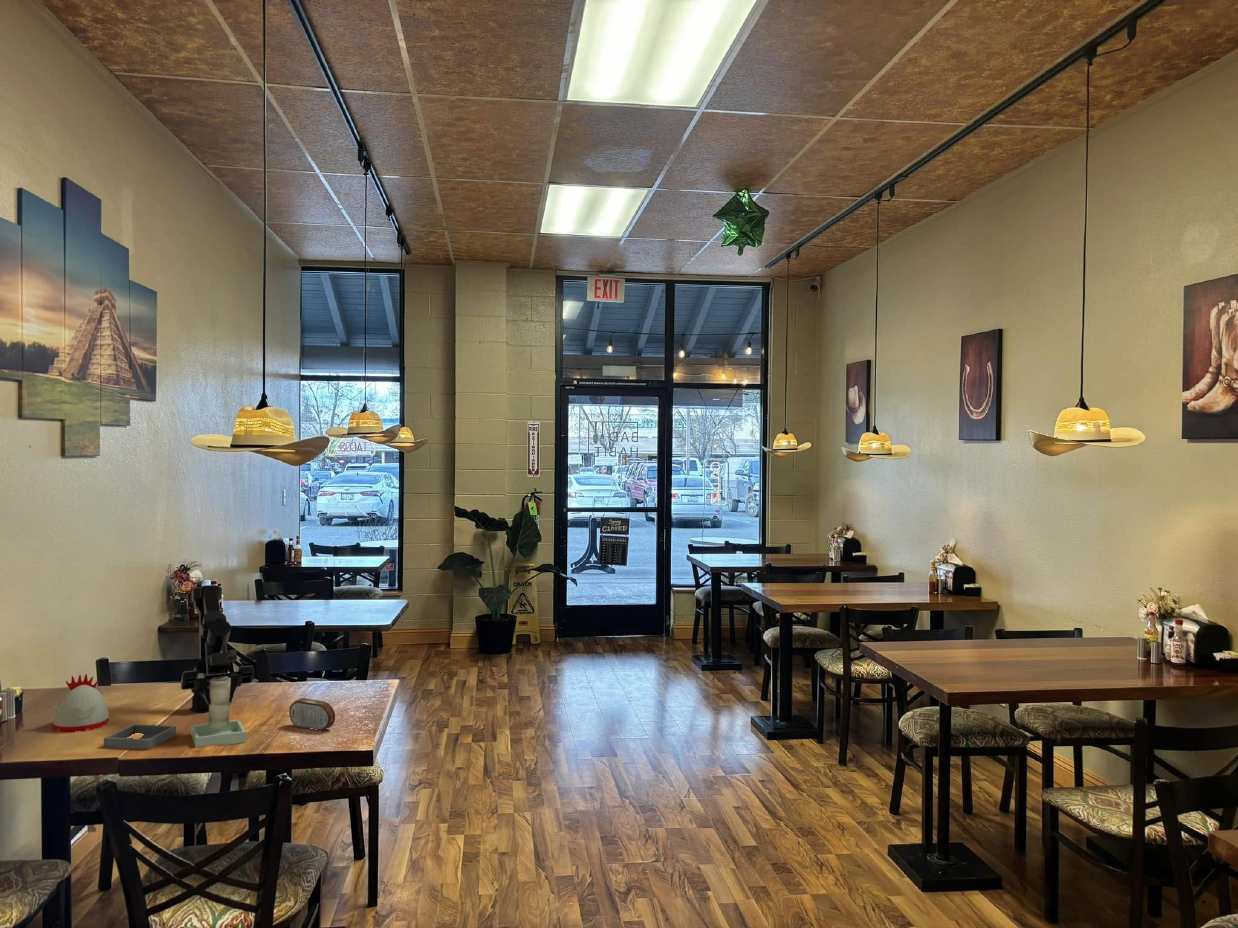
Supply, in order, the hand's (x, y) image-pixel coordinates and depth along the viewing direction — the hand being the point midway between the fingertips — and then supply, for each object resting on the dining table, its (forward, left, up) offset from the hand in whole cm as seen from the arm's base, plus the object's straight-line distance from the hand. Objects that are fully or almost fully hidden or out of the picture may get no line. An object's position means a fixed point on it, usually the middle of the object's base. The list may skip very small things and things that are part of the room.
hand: (220, 703), depth 235 cm
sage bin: (-1, -1, -10) cm, 11 cm away
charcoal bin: (+13, -15, -10) cm, 23 cm away
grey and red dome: (+14, -44, -11) cm, 48 cm away
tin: (-22, +12, -11) cm, 27 cm away
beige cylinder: (-1, -1, -7) cm, 7 cm away
